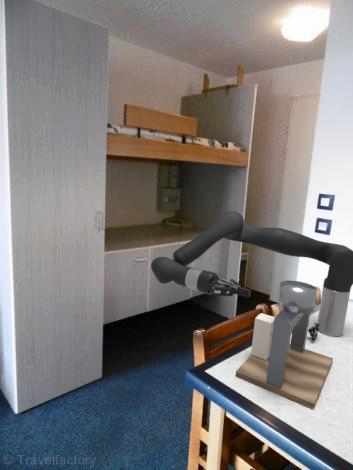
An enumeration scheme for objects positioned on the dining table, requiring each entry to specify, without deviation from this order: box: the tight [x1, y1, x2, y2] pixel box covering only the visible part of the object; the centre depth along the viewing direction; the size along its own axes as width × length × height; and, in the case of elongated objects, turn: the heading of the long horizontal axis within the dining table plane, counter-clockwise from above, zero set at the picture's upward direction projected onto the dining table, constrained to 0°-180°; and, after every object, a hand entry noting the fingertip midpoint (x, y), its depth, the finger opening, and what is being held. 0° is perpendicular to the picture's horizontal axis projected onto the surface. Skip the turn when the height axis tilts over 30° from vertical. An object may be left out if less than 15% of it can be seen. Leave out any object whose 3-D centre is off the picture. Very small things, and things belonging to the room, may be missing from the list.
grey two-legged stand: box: [266, 280, 318, 389], centre depth 95 cm, size 26×10×24 cm, turn 146°
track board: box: [235, 345, 334, 410], centre depth 98 cm, size 27×21×2 cm
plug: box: [250, 312, 276, 360], centre depth 101 cm, size 5×6×12 cm
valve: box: [291, 322, 320, 341], centre depth 120 cm, size 7×7×12 cm
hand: (249, 293), depth 102 cm, fingers closed
